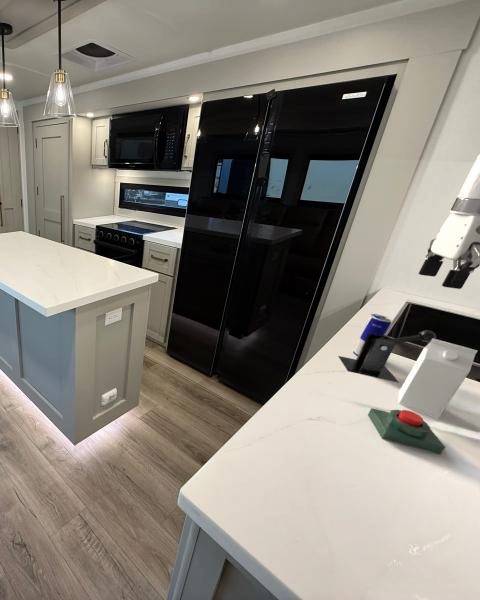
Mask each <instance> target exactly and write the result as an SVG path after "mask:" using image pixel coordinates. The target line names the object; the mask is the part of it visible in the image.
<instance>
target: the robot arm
mask: <svg viewBox="0 0 480 600" xmlns="http://www.w3.org/2000/svg"><path fill="white" fill-rule="evenodd" d="M449 213H450V214H449V216H448V217H447V218H446V220H445V221H444V223H443V224H442V226H441V228H440V229H439V231H438V233H437V235H436V237H435V238H433V239H431V240H430V243H429V248H428V249H427V254H426V255H425V259H424V261H423V263H422V265H421V266H420V267H421V268H420V269H419V271H418V275H420V276H426V277H436V276H437V275H438V273H439V271H440V269H441V267H442V266H443V264H444V259H447V260H449V261H453V262H452V265H453V269H449V271H448V273H447V274H446V276H445V278H444V280H443V282H442V283H441V286H442V287H444V288H449V289H455V290H456V289H457V290H461V289H462V288H463V287H464V285H465V283H466V282H467V280H468V278H469V276H470V275H471V274H472V273H474V272H475V270H476V269H478V268H479V267H480V153H479V154H478V155H477V157H476V159H475V161H474V163H473V165H472V167H471V168H470V170H469V173H468V175H467V177H466V179H465V181H464V183H463V185H462V187H461V189H460V191H459V193H458V195H457V197H456V198H455V201H454V202H453V204H452V206H451V208H450V210H449Z"/></svg>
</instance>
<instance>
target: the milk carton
mask: <svg viewBox="0 0 480 600" xmlns="http://www.w3.org/2000/svg"><path fill="white" fill-rule="evenodd" d="M477 353H478V350H477V349H472V348H470V347H466V346H462V345H458V344H455V343H451V342H447V341H443V340H441V339H437V338H435V339H432V340H431V342H428V343H427V344H426V345H425V346H424V347H423V349H422V351H421V352H420V354H419V356H418V357H417V359H416V361H415V363H414V365H413V367H412V368H411V370H410V372H409V374H408V375H407V377H406V378H405V381H404V382H403V384H402V385H401V387H400V389H399V390H398V401H397V402H398V404H399V405H401V406H404V407H406V408H409V409H411V410H414V411H417V412H419V413H422V414H424V415H427V416H430V417H432V418H435V419H439V418H440V417H441V415H442V414H443V412H444V411H445V409H446V408H447V407H448V405H449V403H450V402H451V401H452V399H453V397H454V396H455V394H456V393H457V391H458V390H459V388H460V387H461V386H462V384H463V382H464V381H465V379H466V378H467V376H468V375H469V373H470V372H471V369H472V365H473V363H474V360H475V357H476V354H477Z"/></svg>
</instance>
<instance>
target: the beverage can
mask: <svg viewBox="0 0 480 600" xmlns="http://www.w3.org/2000/svg"><path fill="white" fill-rule="evenodd" d="M392 322H393V319H392V318H391V317H388V316H386V315H382V314H377V313H371V314H370V316H369V317H368V319H367V321H366V324H365V326H364V328H363V330H362V332H361V334H360V336H359V338H358V341H357V342H356V345H355V347H354V349H353V351H352V353H353V354H354V355H355V356H356V357H358V355H359V353H360V351H361V348H362V346H363V344H364V342H365V340H366V338H367V336H368V334H369V333H375V334H380V335H386V334H387V333H388V331H389V329H390V328H391V325H392ZM386 336H387V335H386Z"/></svg>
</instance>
